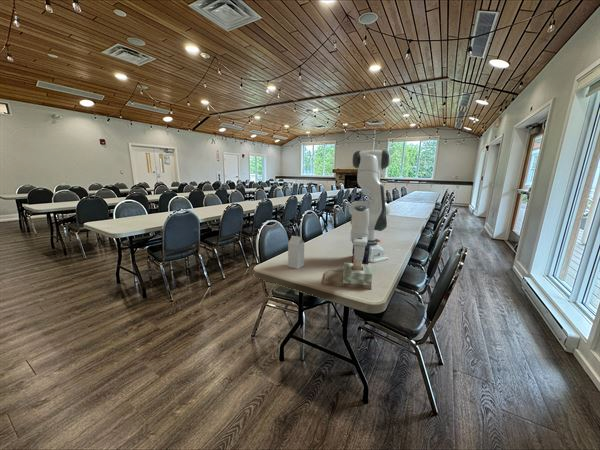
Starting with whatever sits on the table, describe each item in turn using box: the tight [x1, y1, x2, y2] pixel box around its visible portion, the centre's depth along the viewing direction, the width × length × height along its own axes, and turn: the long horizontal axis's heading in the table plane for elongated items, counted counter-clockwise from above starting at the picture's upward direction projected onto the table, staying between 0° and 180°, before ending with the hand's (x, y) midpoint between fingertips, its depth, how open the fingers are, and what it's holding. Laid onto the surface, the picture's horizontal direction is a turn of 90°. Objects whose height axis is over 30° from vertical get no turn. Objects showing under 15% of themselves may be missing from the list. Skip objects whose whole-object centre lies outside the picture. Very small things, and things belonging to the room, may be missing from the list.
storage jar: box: [351, 244, 370, 265], centre depth 148 cm, size 10×10×15 cm
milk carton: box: [287, 235, 305, 270], centre depth 151 cm, size 7×7×19 cm
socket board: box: [322, 262, 373, 290], centre depth 132 cm, size 24×16×8 cm, turn 79°
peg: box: [352, 253, 362, 270], centre depth 130 cm, size 4×4×14 cm
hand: (357, 263), depth 130 cm, fingers closed on peg, 4 cm apart
